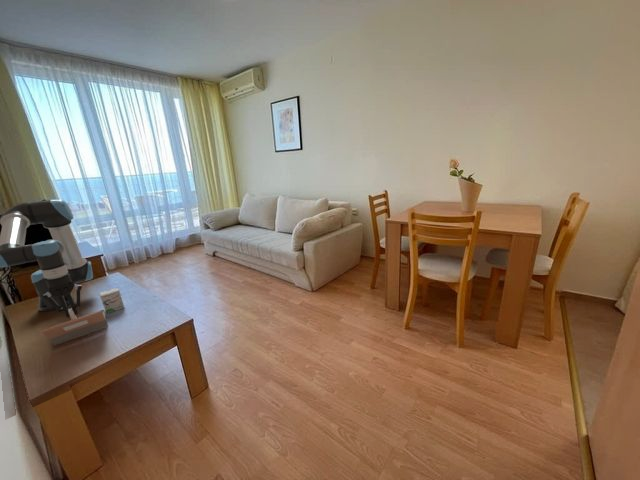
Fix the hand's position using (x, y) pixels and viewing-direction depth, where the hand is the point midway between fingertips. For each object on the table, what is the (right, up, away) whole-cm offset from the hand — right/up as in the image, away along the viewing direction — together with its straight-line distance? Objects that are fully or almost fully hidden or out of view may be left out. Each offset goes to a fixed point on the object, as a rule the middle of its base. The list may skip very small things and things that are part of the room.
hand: (75, 321), depth 119 cm
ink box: (-5, -2, +29) cm, 29 cm away
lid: (0, -1, 0) cm, 1 cm away
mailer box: (-7, -8, +11) cm, 15 cm away
